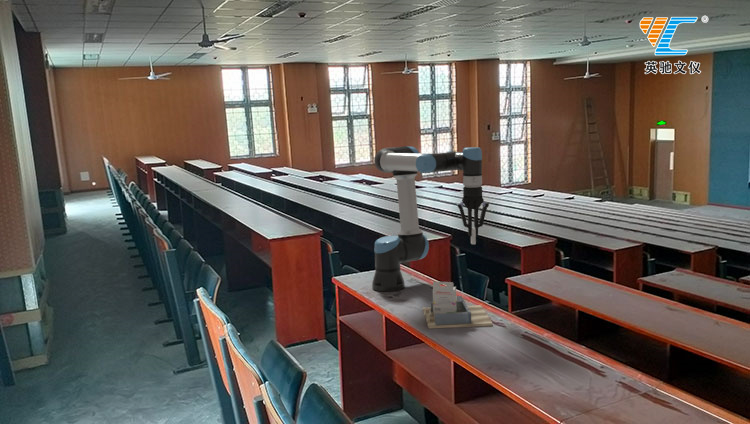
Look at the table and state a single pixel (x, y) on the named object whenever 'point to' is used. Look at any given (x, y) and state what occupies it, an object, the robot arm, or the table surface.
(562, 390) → the table surface
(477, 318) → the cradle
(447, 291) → the ink box
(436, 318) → the housing
